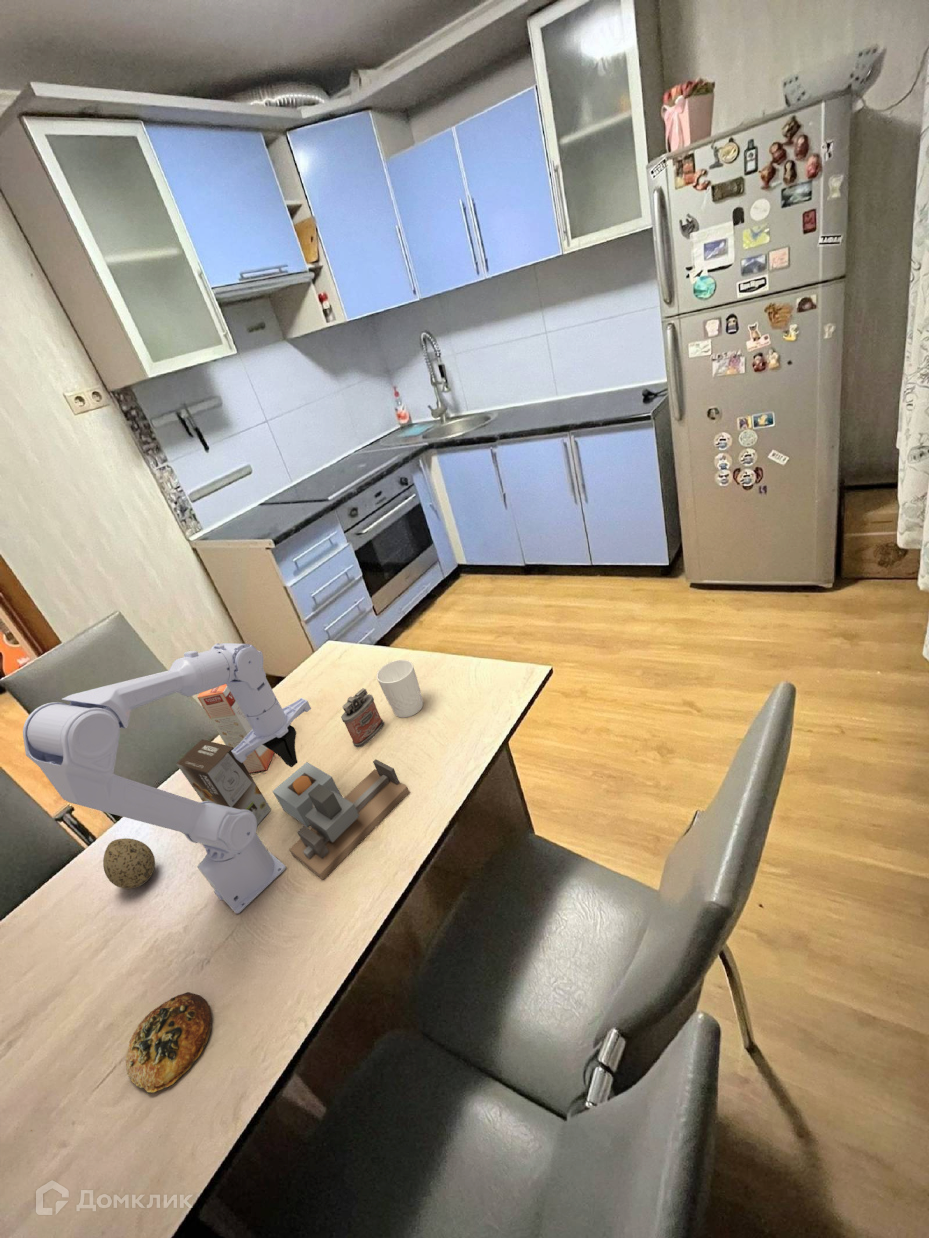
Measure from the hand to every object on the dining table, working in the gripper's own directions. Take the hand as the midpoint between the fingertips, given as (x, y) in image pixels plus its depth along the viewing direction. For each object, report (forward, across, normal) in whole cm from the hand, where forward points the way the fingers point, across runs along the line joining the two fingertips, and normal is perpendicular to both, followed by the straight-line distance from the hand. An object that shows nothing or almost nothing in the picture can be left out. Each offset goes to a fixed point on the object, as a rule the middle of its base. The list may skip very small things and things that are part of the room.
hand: (291, 763), depth 102 cm
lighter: (+10, +18, +3) cm, 20 cm away
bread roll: (+10, -36, -18) cm, 41 cm away
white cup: (+10, +28, +2) cm, 29 cm away
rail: (+10, +1, -12) cm, 15 cm away
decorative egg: (+10, -28, +14) cm, 32 cm away
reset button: (+9, 0, -1) cm, 9 cm away
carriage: (+7, -2, -12) cm, 14 cm away
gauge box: (+10, 0, -1) cm, 10 cm away
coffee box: (+10, -10, +9) cm, 16 cm away
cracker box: (+10, +3, +22) cm, 25 cm away
